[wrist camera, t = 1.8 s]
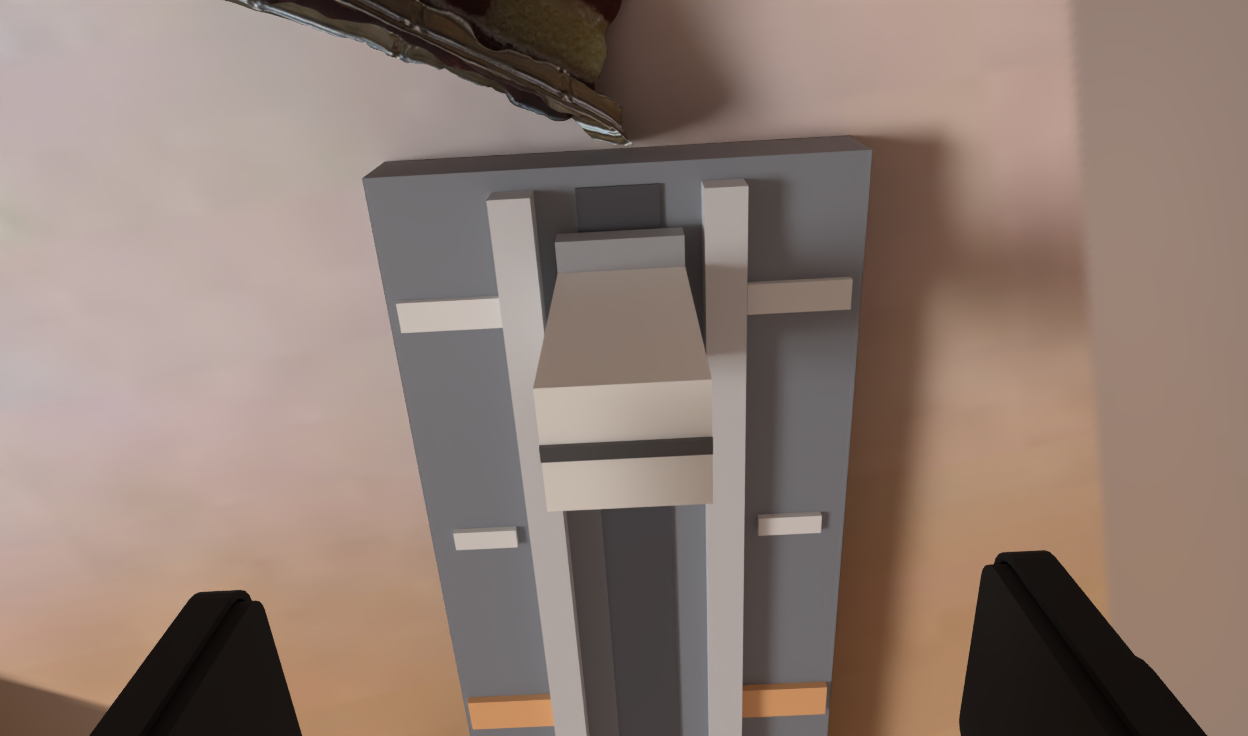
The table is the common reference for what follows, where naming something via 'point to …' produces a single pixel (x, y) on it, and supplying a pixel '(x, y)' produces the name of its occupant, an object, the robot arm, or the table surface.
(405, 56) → the chocolate cake
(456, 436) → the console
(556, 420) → the fader knob
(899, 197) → the table surface
